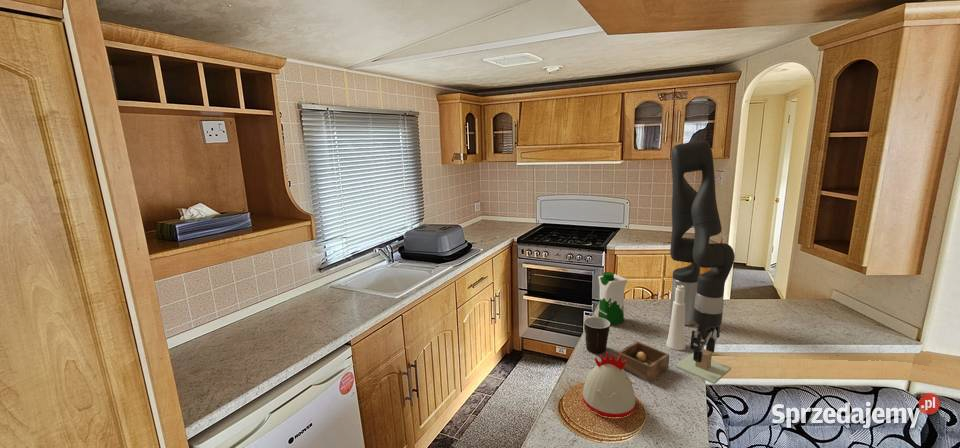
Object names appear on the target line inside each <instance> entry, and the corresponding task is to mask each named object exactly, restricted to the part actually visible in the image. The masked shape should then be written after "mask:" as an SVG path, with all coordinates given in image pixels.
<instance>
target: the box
mask: <svg viewBox="0 0 960 448" xmlns="http://www.w3.org/2000/svg"><path fill="white" fill-rule="evenodd" d="M638 352H643V353H645V355H646V360H645V361H639V360H638V359H637V358H636V354H637V353H638ZM620 354H621V362H624V361H625V360H626V359H627V362H626V364H625V366H624V367H623V368H622V369H623V370H624V371H625V372H626V373H627V374H628V373H629V374H630V375H633V376H634V377H636V378H639V379H641V380H643V381H645V382H647V383H648V384H649V383H651V382H652V381H654V380H655V379H656V378H658V377H659V376H661V375H662V374H664V373H665V372H666V371H668V370H669V363H670V354H668V353H666V352H664V351H662V350H659V349H658V348H654V347H652V346H650V345H647V344H645V343H642V342H640V341H637V340H636V341H635V342H633V343H631V344H630V345H627V346H626V347H624V348H622V349H621V350H619V351H617V352H616V355H617V356H616V361H617V360H618V358H619V356H620ZM645 363H647V364H649V365H647V364H645Z"/></svg>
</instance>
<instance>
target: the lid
mask: <svg viewBox="0 0 960 448" xmlns="http://www.w3.org/2000/svg"><path fill="white" fill-rule="evenodd" d="M693 355H694V352H692V353H690V354H689V355H687V356H686V357H684V358H683V359H682V360H680V361H679V362H677V363H676V364H675V365H674V367H675V368H676V369H678V370H681V371H683V372H686V373H688V374H689V375H692V376H694V377H697V378H698V379H701V380H703V381H706V382H708V383H711V384H713V385H715V384H716V383H718V382H719V381H720V380H721V379H722V378H723V377H724V376H726V375H727V374H728V373H729V372H730V371H732V367H731V366H728V365H725V364H723V363H721V362H718V361H715V360H713V359H712V356H713V353H712V352H710V351H708V350H706V348H703V353H702V361H701V362H700V363H699V362H696V361H694V360H693Z"/></svg>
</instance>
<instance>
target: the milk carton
mask: <svg viewBox="0 0 960 448" xmlns="http://www.w3.org/2000/svg"><path fill="white" fill-rule="evenodd" d="M627 281H628V279H627V278H625V277H622V276H619V275H618V274H615V273H614V272H611V271H605V272H603V273H602V275H600V276H599V275H598V285H599V303H598V304H599V306H598V314H597V315H598V316H597V317H600V318H604V319H606V320H608V321H609V322H610V326H614V325H618V324H621V323H625V315H624V308H625V307H624V305H625V289H626V286H627V285H626V284H627Z"/></svg>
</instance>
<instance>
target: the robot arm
mask: <svg viewBox="0 0 960 448" xmlns="http://www.w3.org/2000/svg"><path fill="white" fill-rule="evenodd" d="M670 159H671V160H670V161H671V175H672V177H671V178H672V196H671V197H672V198H671V226H672V227H671V237H670V238H671V239H670V250H669V251H670V253H669V254H670V258H671V259H672V260H673V261H675V262H680V263H688V264H689V263H690V264H689V265H687V266H683V267H679V268H675V269H674V270H673V272H672V281H671V293H670V294H671V295H670V306H669V307H670V308H669V309H670V310H669V320H670V321H671V315H672V307H673V302H674V301H675V291H676V288H677V285H682V286H684V289H685V294H684V303H685V326H693V325H695V324H697V325H698V326H697V328H696V329H695V330H692V331H691V337H690V346H689V349H690V350H692V351H693V353H694V355H693V360H694V361H696V362H699V363H700V362H701V361H702V353H703V349H705V350H708V351H710V352H712V354H713V353H715V349H716V342H717V340H718V339H719V338H720V336H721V335H720V334H721V325H722V323H723V313H724V306H725V305H724V301H725V300H724V292H725V283H726V281H727V280H728V276H729V274H730V273H731V270H732V268H733V266H734V263H735V255H736V254H735V252H734V249H733V247H732V246H731V245H730V244H729V243H726V242H719V243H718V242H717V243H716V242H715V243H710V238H711V237H714V236H718V235H720V234H721V233H722V229H723V227H722V223H721V219H720V214H719V210H718V209H719V208H718V204H717V195H716V194H717V193H716V179H715V178H716V177H715V166H714V155H713V150H712V147H711V145H710V143H709V142H708V141H707V140H696V141H690V142H685V143H680V144H676V145H674V146H673V147H672V149H671V153H670ZM700 171H701V173H702V174H701V176H702V177H701V184H700V186H699V189H698V190H697V191H696V189H695V188H694V187H692V186H691V185H690V183H689V182H688V181H687V179H686V178H685V176H684V175H685V174H686V173H693V172H700ZM692 228H694V237H692V238H691V237H683V236H684V235H685V234H686V233H687V232H688V231H689V230H691V229H692ZM708 268H709V270H708V271H706V272H703V273H701V269H708Z"/></svg>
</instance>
